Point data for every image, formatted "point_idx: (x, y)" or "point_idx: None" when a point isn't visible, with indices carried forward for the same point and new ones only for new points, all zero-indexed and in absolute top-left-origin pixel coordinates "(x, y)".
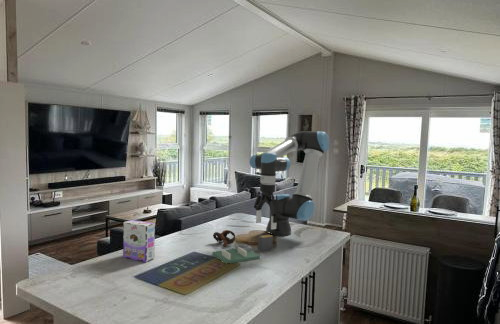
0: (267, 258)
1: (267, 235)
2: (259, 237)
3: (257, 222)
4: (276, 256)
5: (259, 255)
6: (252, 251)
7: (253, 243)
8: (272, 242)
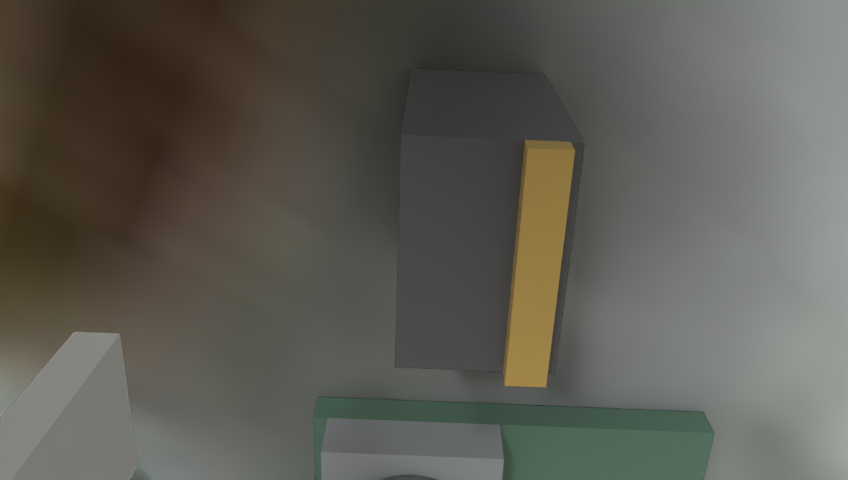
0: (771, 339)
1: (523, 254)
2: (431, 356)
3: (129, 451)
4: (797, 191)
5: (706, 434)
6: (528, 428)
7: (112, 149)
8: (563, 109)
